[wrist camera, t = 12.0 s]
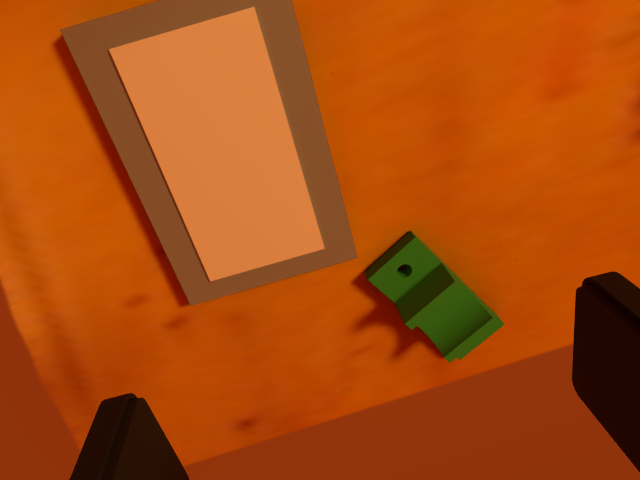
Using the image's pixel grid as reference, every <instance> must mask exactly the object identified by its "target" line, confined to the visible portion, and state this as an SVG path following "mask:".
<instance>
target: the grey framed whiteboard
mask: <svg viewBox="0 0 640 480" xmlns="http://www.w3.org/2000/svg"><path fill="white" fill-rule="evenodd" d="M60 31H61V33H62V35H63V38H64V40H65V42H66V44H67V46H68V48H69V50H70V52H71V54H72V57H73V59H74V61H75V63H76V65H77V67H78V69H79V71H80V73H81V76H82V78H83V80H84V82H85V84H86V86H87V88H88V90H89V92H90V95H91V97H92V99H93V101H94V103H95V105H96V107H97V109H98V111H99V114H100V116H101V118H102V120H103V122H104V124H105V126H106V128H107V130H108V133H109V135H110V137H111V139H112V141H113V143H114V145H115V147H116V149H117V152H118V154H119V156H120V158H121V160H122V162H123V164H124V166H125V168H126V171H127V173H128V175H129V177H130V179H131V181H132V183H133V185H134V187H135V190H136V192H137V194H138V196H139V198H140V200H141V202H142V204H143V206H144V209H145V211H146V213H147V215H148V217H149V219H150V221H151V223H152V225H153V228H154V230H155V232H156V234H157V236H158V238H159V240H160V242H161V244H162V247H163V249H164V251H165V253H166V255H167V257H168V259H169V261H170V263H171V266H172V268H173V270H174V272H175V274H176V276H177V278H178V280H179V282H180V285H181V287H182V289H183V291H184V293H185V295H186V297H187V299H188V301H189V304H190V306H191V305H195V304H198V303H202V302H205V301H209V300H212V299H216V298H219V297H223V296H226V295H230V294H233V293H237V292H240V291H244V290H247V289H251V288H254V287H258V286H261V285H265V284H268V283H272V282H275V281H279V280H282V279H286V278H289V277H293V276H296V275H300V274H303V273H307V272H310V271H314V270H317V269H321V268H324V267H328V266H331V265H335V264H338V263H342V262H345V261H349V260H352V259H356V258H358V257H357V253H356V249H355V245H354V242H353V238H352V234H351V230H350V226H349V222H348V218H347V214H346V210H345V206H344V203H343V199H342V195H341V191H340V187H339V183H338V179H337V175H336V171H335V167H334V163H333V160H332V156H331V152H330V148H329V144H328V140H327V136H326V132H325V128H324V124H323V121H322V117H321V113H320V109H319V105H318V101H317V97H316V93H315V89H314V85H313V81H312V78H311V74H310V70H309V66H308V62H307V58H306V54H305V50H304V46H303V42H302V39H301V35H300V31H299V27H298V23H297V19H296V15H295V11H294V7H293V3H292V0H159V1H156V2H152V3H149V4H146V5H142V6H139V7H135V8H132V9H129V10H125V11H122V12H118V13H115V14H112V15H108V16H105V17H101V18H98V19H95V20H91V21H88V22H84V23H81V24H78V25H74V26H71V27H67V28H64V29H61V30H60Z"/></svg>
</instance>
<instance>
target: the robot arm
mask: <svg viewBox="0 0 640 480" xmlns="http://www.w3.org/2000/svg"><path fill="white" fill-rule="evenodd" d="M572 382H573V386H574V388H575V391H576V392H577V394H578V396H579V397H580V398H581V400H582V401H583V402H584V403H585V404H586V406H587V407H588V408H589V409H590V411H591V412H592V413H593V415H594V416H595V417H596V418H597V420H598V421H599V422H600V423H601V424H602V426H603V427H604V428H605V430H606V431H607V432H608V433H609V435H610V436H611V437H612V438H613V439H614V441H615V442H616V443H617V444H618V446H619V447H620V448H621V449H622V451H623V452H624V453H625V454H626V456H627V457H628V458H629V459H630V461H631V462H632V463H633V464H634V466H635V467H636V468H637V469H638V471H639V472H640V289H639V288H638V287H637V286H635V285H634V284H633V283H631V282H630V281H629V280H627V279H626V278H625V277H623V276H622V275H621V274H619V273H617V272H608V273H605V274H601V275H597V276H593V277H589V278H586V279H584V281H583V283H582V287H579V288H577V290H576V301H575V324H574V348H573V371H572ZM69 480H189V477H188V475H187V473H186V471H185V470H184V468H183V466H182V464H181V462H180V461H179V459H178V457H177V455H176V454H175V452H174V450H173V448H172V446H171V445H170V443H169V441H168V439H167V438H166V436H165V434H164V432H163V430H162V429H161V427H160V425H159V423H158V422H157V420H156V418H155V416H154V414H153V413H152V411H151V409H150V407H149V406H148V404H147V402H146V401H145V399H143V398H137V397H136V396H135V395H134V394H132V393H129V394H125V395H121V396H117V397H113V398H109V399H105V400H103V401H102V402H101V404H100V406H99V408H98V410H97V413H96V415H95V418H94V420H93V423H92V425H91V428H90V430H89V433H88V435H87V438H86V440H85V443H84V445H83V448H82V450H81V453H80V455H79V458H78V461H77V463H76V465H75V468H74V471H73V473H72V475H71V478H70V479H69Z"/></svg>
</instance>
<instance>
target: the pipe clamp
mask: <svg viewBox="0 0 640 480" xmlns="http://www.w3.org/2000/svg"><path fill="white" fill-rule="evenodd" d="M404 264H407V267H406V268H405V269H403V270H398V268H399V267H400V266H401V265H404ZM365 274H366V277H367V279H368V280H369V281H370V282H371V283H372V284H373V285H374V286H375V287H377V288H378V289H379V290H380V291H381V292H382V293H384V294H385V295H386V296H387V297H388V298H389V299H390V300H392V301H393V302H394V303H395V305H396V307H397V309H398V311H399V313H400V315H401V317H402V319H403V321H404V324H405V325H406V326H408V327H409V328H410V329H411V330H412V329H413V328H414V327H416V326H418V327H419V328H420V329H421V330H422V331H423V332H424V333H425V334H426V335H427V336H428V337H429V338H430V339H431V340H432V341H433V343H434V344H435V345H436V346H437V348H438V349H439V350H440V352H441V353H442V355H443V357H444V358H445V359H446V360H447V361H449V362H452V361H453V360H454V359H455V358H458V359H460V360H461V359H462V358H463V357H464V356H466V355H467V354H468V353H469V352H471V351H472V350H473V349H474V348H476V347H477V346H478V345H479V344H481V343H482V342H483V341H484V340H486V339H487V338H488V337H489V336H491V335H492V334H493V333H494V332H496V331H497V330H498V329H500V328H501V327H502V326H503V325H504V323H503V322H502V321H501V320H500V318H499V317H498V316H497V315H496V314H495V313H494V312H493V311H492V310H491V309H490V308H489V307H488V306H487V305H486V304H485V303H484V302H483V301H482V300H481V299H480V298H479V297H478V296H477V295H476V294H475V293H474V292H473V291H472V290H471V289H470V288H468V287H467V286H466V285H465V284H464V283H463V282H462V281H461V280H460V279H459V278H458V277H457V276H456V275H455V274H454V273H453V272H452V271H451V270H450V269H449V268H448V267H447V266H446V265H445V264H444V263H443V262H442V261H441V260H440V259H439V258H438V257H437V256H436V255H435V254H434V253H433V252H432V251H431V250H430V249H429V248H428V247H427V246H426V245H425V244H424V243H423V242H422V241H421V240H420V239H419V238H418V237H417V236H415V235H414V234H413V233H412V232H411V231H409V232H408V233H407V234H406V235H405V236H404V237H403V238H402V239H401V240H399V241H398V242H397V243H396V244H395V245H394V246H393V247H392V248H391V249H390V250H388V251H387V252H386V253H385V254H384V255H383V256H382V257H381V258H380V259H378V260H377V261H376V262H375V263H374V264H373V265H372V266H371V267H370V268H368V269H367V270H366V271H365Z"/></svg>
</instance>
